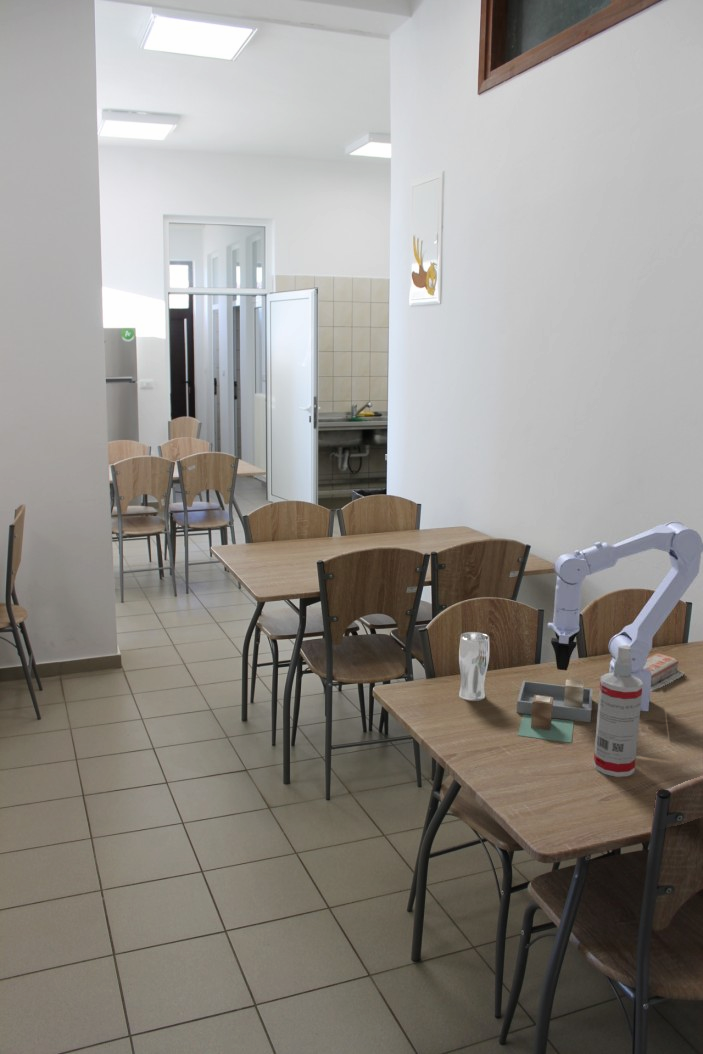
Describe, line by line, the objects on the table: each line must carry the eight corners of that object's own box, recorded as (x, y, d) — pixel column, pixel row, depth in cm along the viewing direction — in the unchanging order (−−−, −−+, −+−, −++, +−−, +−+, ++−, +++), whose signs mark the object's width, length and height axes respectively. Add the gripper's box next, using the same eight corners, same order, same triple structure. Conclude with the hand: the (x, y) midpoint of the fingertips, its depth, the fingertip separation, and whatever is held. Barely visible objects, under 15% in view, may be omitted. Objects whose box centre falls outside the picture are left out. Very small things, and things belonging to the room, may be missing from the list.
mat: (573, 723, 194) (573, 721, 194) (571, 745, 184) (571, 742, 184) (522, 717, 197) (522, 714, 197) (517, 737, 187) (517, 735, 187)
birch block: (582, 706, 203) (584, 681, 201) (581, 712, 199) (583, 687, 198) (564, 703, 204) (566, 679, 202) (563, 710, 200) (565, 685, 199)
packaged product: (650, 648, 231) (687, 658, 224) (648, 666, 232) (685, 677, 225) (615, 665, 218) (653, 676, 211) (613, 683, 219) (651, 695, 212)
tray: (591, 702, 206) (592, 689, 206) (590, 724, 194) (591, 710, 193) (522, 693, 211) (522, 680, 210) (516, 714, 198) (517, 701, 198)
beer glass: (491, 701, 205) (495, 640, 202) (464, 704, 203) (467, 642, 200) (479, 690, 212) (482, 630, 209) (452, 693, 210) (455, 632, 207)
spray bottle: (622, 780, 169) (633, 656, 164) (586, 767, 174) (596, 646, 169) (640, 767, 175) (652, 646, 170) (605, 754, 180) (615, 637, 175)
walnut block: (551, 723, 193) (553, 696, 192) (549, 730, 189) (551, 703, 188) (532, 720, 194) (534, 694, 193) (530, 727, 190) (532, 701, 189)
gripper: (551, 596, 209) (547, 651, 212) (546, 614, 195) (542, 672, 198) (582, 599, 207) (577, 655, 210) (579, 617, 194) (575, 676, 196)
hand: (563, 663), depth 204 cm, fingers open, 7 cm apart
